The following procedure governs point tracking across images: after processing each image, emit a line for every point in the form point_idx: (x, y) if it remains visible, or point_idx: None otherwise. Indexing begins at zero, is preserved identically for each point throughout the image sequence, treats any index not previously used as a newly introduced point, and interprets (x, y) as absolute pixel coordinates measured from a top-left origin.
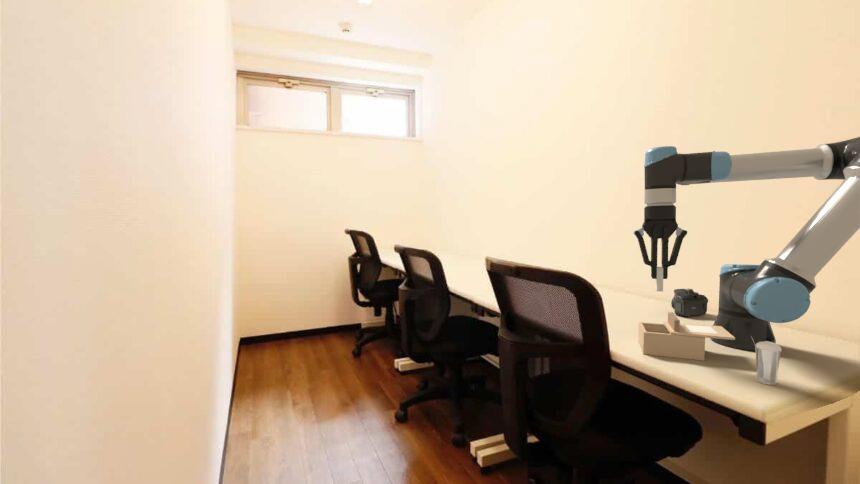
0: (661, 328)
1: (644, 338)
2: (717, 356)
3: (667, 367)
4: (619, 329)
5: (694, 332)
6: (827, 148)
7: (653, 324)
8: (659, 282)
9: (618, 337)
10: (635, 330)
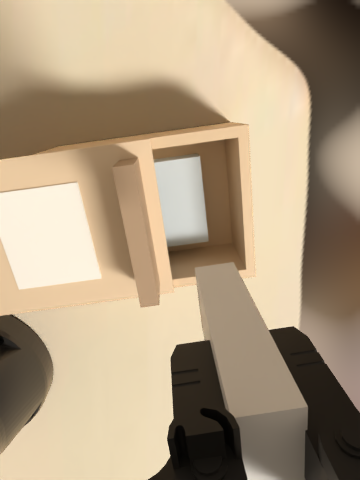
0: (179, 271)
1: (239, 124)
2: None
3: (162, 7)
4: None
5: (66, 178)
6: None
7: None
8: (231, 297)
9: (293, 264)
10: None
